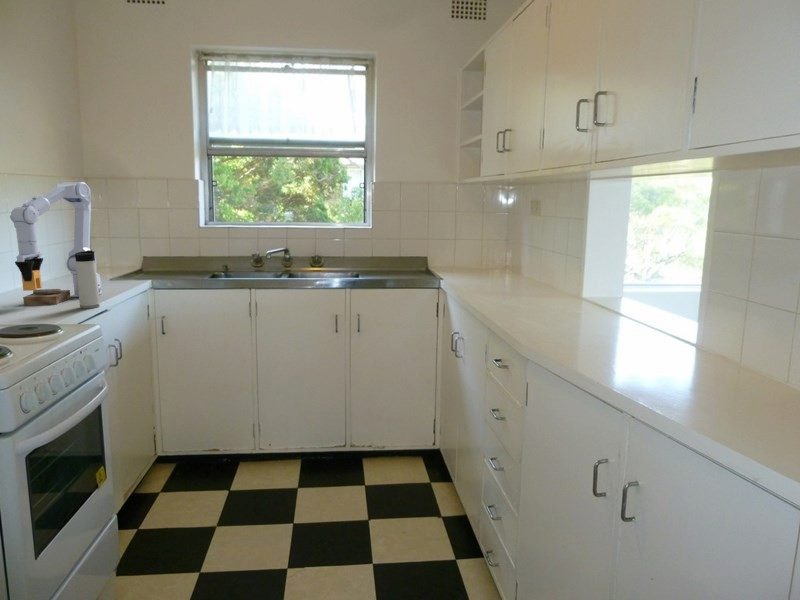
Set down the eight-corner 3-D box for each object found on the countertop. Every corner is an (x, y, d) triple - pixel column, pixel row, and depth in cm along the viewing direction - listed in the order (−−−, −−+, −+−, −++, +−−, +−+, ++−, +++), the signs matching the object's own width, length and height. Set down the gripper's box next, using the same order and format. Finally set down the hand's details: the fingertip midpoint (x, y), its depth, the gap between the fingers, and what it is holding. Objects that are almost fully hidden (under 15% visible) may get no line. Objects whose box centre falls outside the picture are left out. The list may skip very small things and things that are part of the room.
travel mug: (103, 305, 221) (98, 250, 217) (93, 308, 214) (87, 252, 211) (87, 305, 221) (82, 250, 218) (76, 308, 215) (70, 252, 211)
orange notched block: (41, 287, 220) (39, 270, 219) (35, 290, 215) (33, 272, 214) (29, 288, 220) (27, 270, 218) (23, 290, 214) (21, 272, 213)
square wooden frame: (70, 297, 237) (69, 285, 236) (56, 304, 223) (55, 291, 222) (39, 298, 235) (38, 286, 234) (24, 305, 221) (22, 292, 221)
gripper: (30, 243, 208) (35, 282, 210) (47, 239, 222) (51, 276, 224) (8, 243, 207) (13, 283, 209) (26, 239, 221) (30, 277, 223)
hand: (31, 279), depth 217 cm, fingers closed on orange notched block, 5 cm apart
